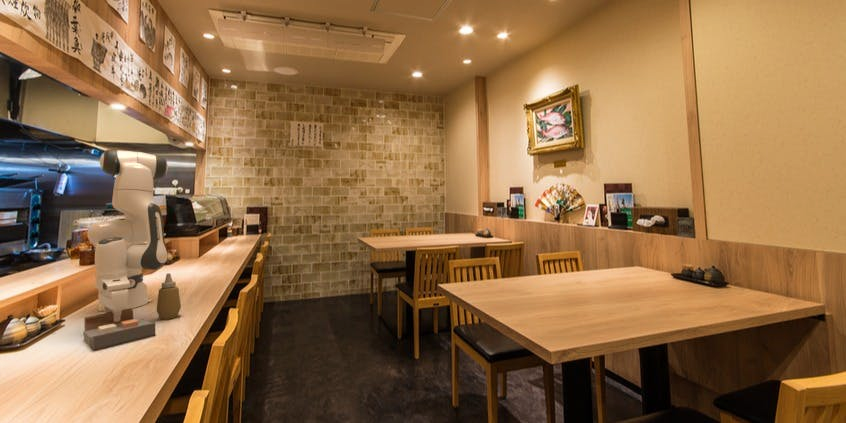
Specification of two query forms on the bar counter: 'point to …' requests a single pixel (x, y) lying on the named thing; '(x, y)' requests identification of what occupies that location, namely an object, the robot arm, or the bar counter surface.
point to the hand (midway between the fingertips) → (112, 318)
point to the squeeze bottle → (168, 299)
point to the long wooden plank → (106, 319)
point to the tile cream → (107, 328)
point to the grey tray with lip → (119, 335)
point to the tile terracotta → (129, 323)
